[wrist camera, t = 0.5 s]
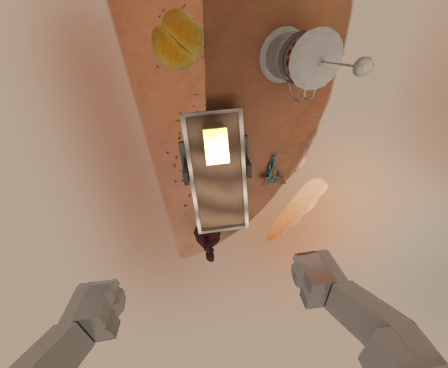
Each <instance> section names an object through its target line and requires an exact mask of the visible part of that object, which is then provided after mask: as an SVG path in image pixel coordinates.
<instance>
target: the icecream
mask: <svg viewBox="0 0 448 368" xmlns="http://www.w3.org/2000/svg"><path fill="white" fill-rule="evenodd" d="M194 234H195V236H196V240H197V242H198V243H199V244H200V245H201V246H202V247H203V248H204V250H205V251H206V258H207V260H208V261H210V262H212V261H214V254H213V251H214V250H213V248H212V247H213V246H214V245H216V244H217V243H218V241H219V240H220V232H213V233H205V234H198V228H197V226H196V228H195V231H194Z"/></svg>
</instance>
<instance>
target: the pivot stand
mask: <svg viewBox="0 0 448 368" xmlns="http://www.w3.org/2000/svg"><path fill="white" fill-rule="evenodd" d="M244 144H245V163H246V177H247V178H251V167H252V166H251V163H250V161H249V159H248V157H247V135H244ZM178 145H179V150H180V155H181V160H182V165H183V172H182V174H183V179H184V184H185V185H189V183H190V176H189V170H188V163H187V157H186V150H185V144H184V141H182V142H179V143H178Z"/></svg>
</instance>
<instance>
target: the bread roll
mask: <svg viewBox="0 0 448 368" xmlns="http://www.w3.org/2000/svg"><path fill="white" fill-rule="evenodd" d="M152 45H153V49H154V51H155V53H156V55H157V57H158V59H159V60H160V61H161V62H162V63H163V64H165V65H166V66H168V67H170V68H173V69H186V68H188V67H190V66H192V65H193V64H194V63H195V62H196V61H197V59H198V58H199V57H200V55H201V53H202V51H203V48H204V36H203V33H202V30H201V29H200V28H199V26H198V25H197V24H196V22H195V21H194V20H193V18H192V17H191V16H190V15H189V14H188V12H187V11H186V10H185V9H184V10H182V9H178V8H174V9H172V10H169V11H168V12H167V13H166V14H165V15H164V17H163V19H162V23H161V24H160V25H158V26H156V27H155V28H154V30H153V32H152Z"/></svg>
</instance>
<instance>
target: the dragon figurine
mask: <svg viewBox="0 0 448 368" xmlns="http://www.w3.org/2000/svg"><path fill="white" fill-rule="evenodd" d="M276 154H277V152H276ZM273 156H276V155H272V161H273V167H272V168H271V164H270V165H269V167H268V170H267V173H268V176H267V177H266V178H264V177H263V178H264V181H262V184H261V185H265V184H267V182H268V183H269V182H270V183H272V182H273V183H275V182H276V180H277V183H279V184H285V183H286V182H285V180H283V177H284V176H283V177H280V176H278V177H277V176H275V175H276V173H277V169H276V164H275V161H274V159H273ZM274 177H275V178H274ZM274 181H275V182H274Z"/></svg>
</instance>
